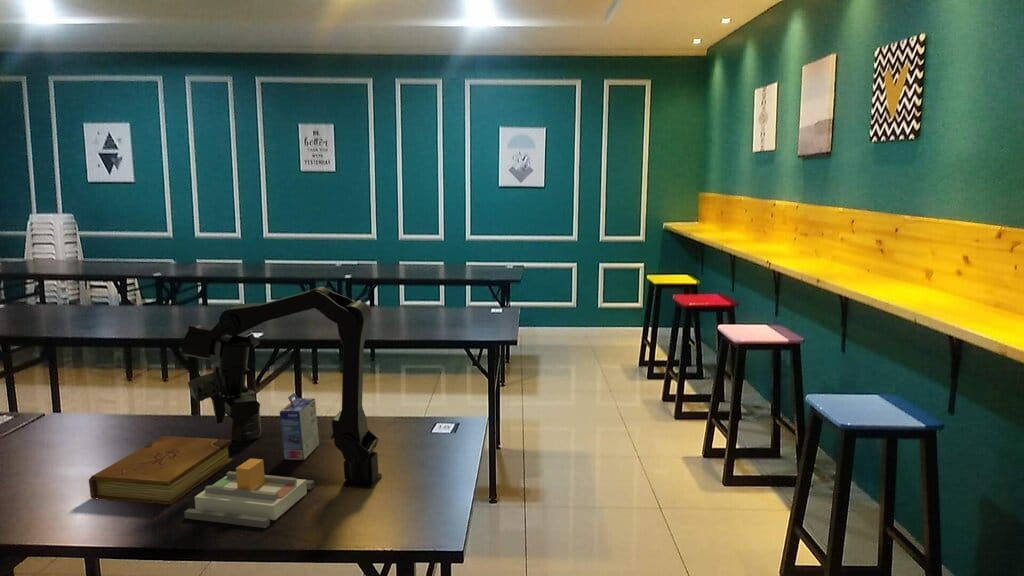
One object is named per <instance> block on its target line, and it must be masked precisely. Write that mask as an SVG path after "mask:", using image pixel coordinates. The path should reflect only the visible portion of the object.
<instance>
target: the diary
mask: <svg viewBox="0 0 1024 576" xmlns="http://www.w3.org/2000/svg"><path fill="white" fill-rule="evenodd" d="M230 445H232V439H223V438H222V439H221V438H202V437H187V436H171V435H163V436H160V437H159V438H157V439H155V440H154V441H152V442H151V441H150V443H148V444H146V445H144V446H142V447H141V448H139V449H138V450H136V451H134V452H132V453H130V454H129V455H127V456H125V457H123V458H121V459H120V460H118V461H116V462H114V463H113V464H111V465H109V466H107V467H105V468H103V469H102V470H99V471H98V472H96V473H95V474H93V475H90V476H91V477H90V478H89V479H88V483H89V484H88V485H89V493H90V495H89V496H90V498H91V499H92V498H98V499H97V500H99V499H107V500H106V501H113V500H119V501H118V502H126V501H132V502H131V503H140V502H149V503H148V504H153V503H159V504H158V505H167V504H170V505H171V504H172V505H173V504H174V503H176V502H177V501H179V500H180V499H181V498H183V497H185V495H187V494H188V493H189V491H190V492H191V491H192V490H194V489H195V488H197V487H198V486H200V485H201V484H202V483H203V481H204V482H205V481H206V480H208V479H209V478H210V477H212V476H213V475H215V474H216V473H218V472H219V471H220V470H222V469H223V468H225V467H226V466H227V465H229V464H230V463H231V462H232V461H234V459H233V458H230V457H229V446H230ZM200 483H201V484H200ZM196 486H197V487H196ZM194 487H195V488H194ZM193 488H194V489H193ZM186 493H187V494H186ZM182 496H183V497H182ZM179 498H180V499H179ZM178 499H179V500H178ZM172 505H171V506H172Z"/></svg>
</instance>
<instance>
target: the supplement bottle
mask: <svg viewBox="0 0 1024 576" xmlns="http://www.w3.org/2000/svg"><path fill="white" fill-rule="evenodd" d="M241 395H242V396H246V395H251V396H252V397H253V398H254V399H255V400H256V398H255V392H254V390H252V389H248V392H247V393H242V394H241ZM260 412H261V411H259V413H258V414H256V415H253V416H252V418H251V419H250V420H249V422H248V423H247V424H246V426H245V427H244V429H243V430H242V432H241V433H240V435H239V436H238V438H237V439H234V440H235V441H236V442H244V443H245V442H250V441H255V440H257V439H259V438H260V437H261V435H262V425H261V423H262V422H261V413H260Z"/></svg>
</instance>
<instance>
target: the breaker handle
mask: <svg viewBox="0 0 1024 576" xmlns="http://www.w3.org/2000/svg"><path fill="white" fill-rule="evenodd" d="M235 472H236V476H237V488H238V489H247V490H255V489H257V488H258V487H259V486H261V485H262V484H263V483H265V476H264V475H265V465H264V459H261V458H260V459H259V458H249V459H248V460H246V461H244V462H243V463H241V464H240V465H238V466H237V467H236V468H235Z"/></svg>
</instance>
